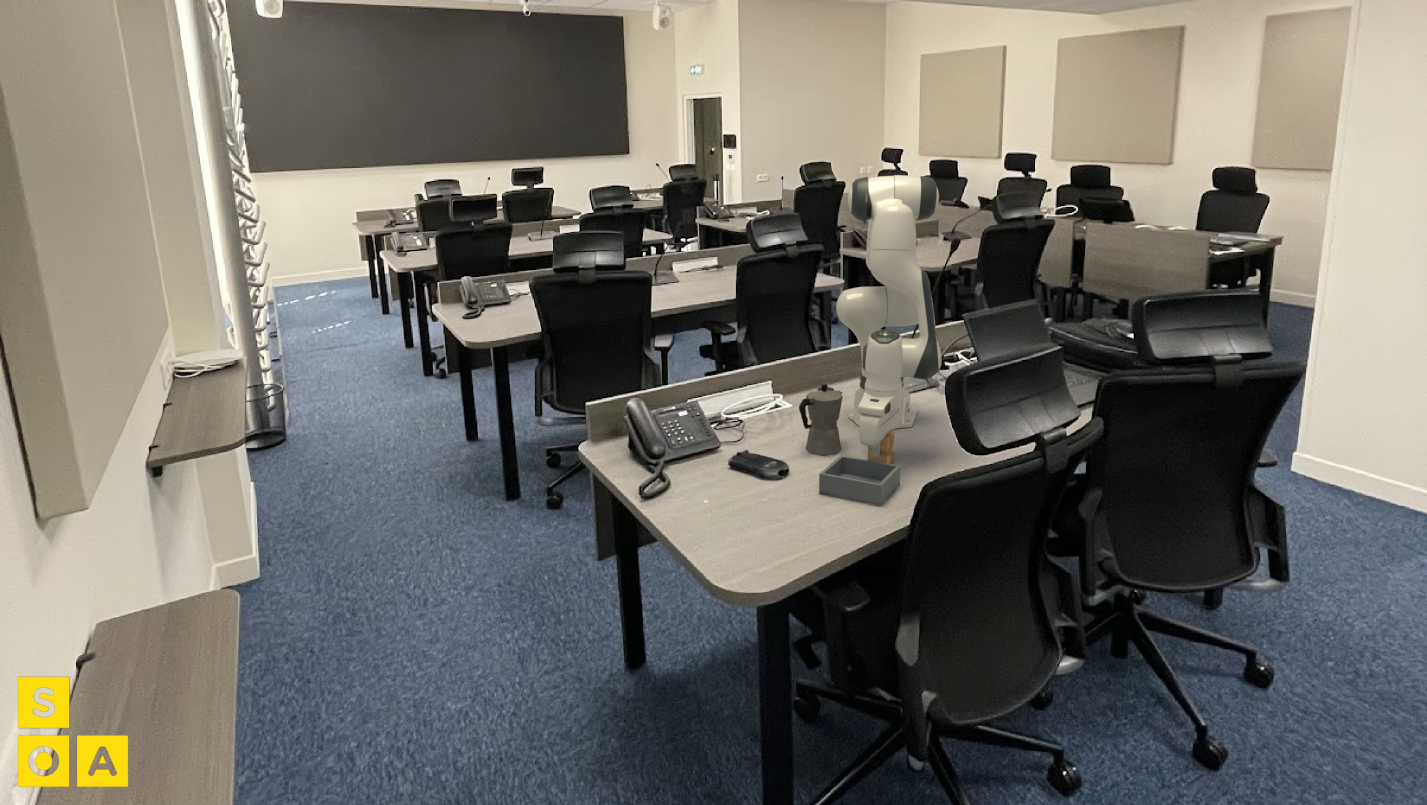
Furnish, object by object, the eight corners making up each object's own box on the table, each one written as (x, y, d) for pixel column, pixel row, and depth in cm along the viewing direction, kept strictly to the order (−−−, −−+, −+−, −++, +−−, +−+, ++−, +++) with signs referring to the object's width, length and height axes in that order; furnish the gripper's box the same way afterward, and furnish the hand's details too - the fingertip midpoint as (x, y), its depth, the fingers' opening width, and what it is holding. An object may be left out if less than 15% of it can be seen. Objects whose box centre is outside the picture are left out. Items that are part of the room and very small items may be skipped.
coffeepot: (827, 439, 236) (828, 375, 231) (853, 448, 229) (855, 382, 224) (786, 453, 227) (786, 387, 221) (812, 463, 220) (813, 395, 214)
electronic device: (726, 476, 218) (775, 482, 208) (725, 454, 217) (774, 459, 207) (748, 469, 225) (796, 475, 215) (747, 448, 224) (796, 453, 215)
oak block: (874, 463, 218) (875, 426, 215) (893, 467, 216) (894, 429, 213) (867, 470, 214) (868, 432, 211) (886, 474, 212) (888, 435, 209)
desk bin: (840, 474, 213) (840, 455, 211) (899, 485, 205) (900, 465, 204) (819, 493, 202) (819, 473, 200) (880, 506, 195) (881, 485, 193)
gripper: (884, 385, 219) (883, 436, 224) (855, 408, 203) (853, 463, 207) (909, 388, 216) (906, 440, 221) (881, 412, 200) (879, 467, 204)
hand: (880, 451), depth 214 cm, fingers closed on oak block, 5 cm apart
